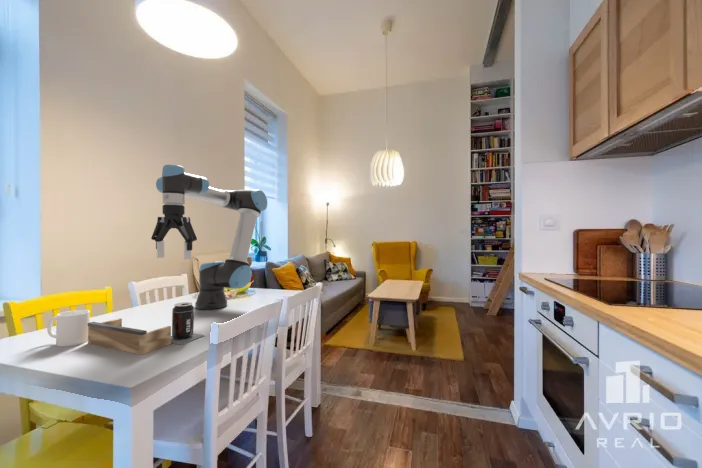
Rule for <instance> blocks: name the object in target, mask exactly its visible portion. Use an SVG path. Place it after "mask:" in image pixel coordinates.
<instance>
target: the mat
mask: <svg viewBox="0 0 702 468" xmlns="http://www.w3.org/2000/svg"><path fill="white" fill-rule="evenodd" d="M205 336H206V335H205V334H202V333H196V332H193V335H192V336H190V337H189V338H187V339H181V340H178V339H175V338H173V337H172V335H171V344H174V345H177V346H178V345H179V346H183V345H185V344H188V343H190V342H193V341H196V340H198V339H200V338H203V337H205Z"/></svg>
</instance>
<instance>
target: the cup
mask: <svg viewBox="0 0 702 468" xmlns="http://www.w3.org/2000/svg"><path fill="white" fill-rule="evenodd" d="M90 316H91V312H90V310H89V309H79V310H78V309H75V310H68V311H62V312H59V313H57V314H56V316H53V317H51V318H49V319H48V323H47V327H46V330H47V334H48V336H49V337H51V338H53V339H55V344H56V346H57V347H59V348H63V347H74V346H79V345H82V344H84V343H86V342H87V343H88V323H90V319H91V318H90ZM54 321H56V322H55V323H56V325H55V326H56V327H55V328H56V331H55V333H54V331H53V330H52V329H53V327H52V326H53V322H54Z"/></svg>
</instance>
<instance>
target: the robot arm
mask: <svg viewBox="0 0 702 468" xmlns="http://www.w3.org/2000/svg"><path fill="white" fill-rule="evenodd" d="M161 172H162V174H161V176H160V177H158V178H157V180H156V182H155V187H156V190H157V191H158V192H159V193H161V194H162V204H163V205H162V214H163V215H164V216H157V221H156V225H155V227H154V229H153V232H152V235H151V238H150V239H151V240H152V241H155V249H156V258H157V259H161V258H165V241H164V239H165V237H166V236H167V234H168V233H169V231H170V230H171V229H176V230H178V232H179V233H180V235H181V236H182V238H183V239H184V242H183V260H191V259H192V251H193V242H195V241H197V240H198V238H197V236H196V233H195V230H194V228H193V225H192V223H191V217H190V216H184V215H185V211H186V210H185V206H184V205H185V197H186V198H190V199H195V200H199V201H203V202H208V203H211V204H212V203H213V204H216V205H217V206H218V207H221V208H225V209H229V210H233V211H238V212H239V219H238V222H237V227H236V230H235V233H234V239H233V240H232V241H233V242H232V247H231V250H230V254H229V257H227V258H226V259H225V261H224V260H223V261H212V262H205V263H204V262H203V263H201V264H200V267H199V282H198V283H199V286H198V287H199V290H198V291H199V292H198V295H197V298H196V300H195V303H194V309H197V310H203V309H208V310H217V309H216V308H218V309H222V307H223V308H225V307H227V306H228V299H227V297H226V294H225V288H229V289H234V290H235V289H244V288H245V287H246V286H247V285H249V283H250V282H251V278H252V273H253V272H252V268H251V267H250V263H249V261H248V257H249V252H250V248H251V243H252V239H253V236H254V230H255V227H256V222H257V218H259V217H260V216H261V214H262V212H263V211H265V210H267V207H268V198H267V196H266V194H265V192H264V191H263V190H261V189H255V188H252V189H233V190H231V189H223V188H222V189H218V188H214V187H211V186H210V182H209V180H208V178H207V177H205V176H202V175H196V174H192V173H187V172H186V171H185V168H184V166H182V165H178V164H165V165H163V166H162V171H161Z"/></svg>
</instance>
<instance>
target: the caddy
mask: <svg viewBox="0 0 702 468" xmlns="http://www.w3.org/2000/svg"><path fill="white" fill-rule="evenodd" d="M122 324H123V318H121V317H120V318H115V319H111V320H107V321H102V322H96V321H91V322H90V323H88V341H87V344H89V345H94V346H99V347H102V348H104V347H105V348H108V349H113V350H118V351H123V352H127V353H132V354H137V355H145V354H147V353H150V352H153V351H155V350H159V349H160V348H163V347H166V346H168V345H169V346H170V345H171V344H172V343H171V336H172V325H167V326H163V327H161V328H157V329H153V330H150V331H148V332H147V330H143V329H138V328H132V327H126V326H123V325H122Z"/></svg>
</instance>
